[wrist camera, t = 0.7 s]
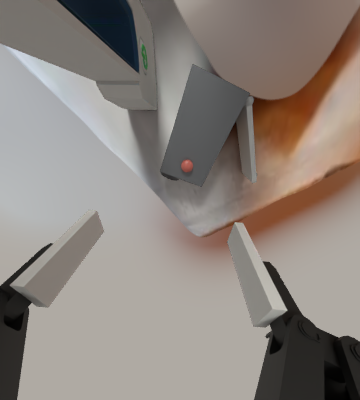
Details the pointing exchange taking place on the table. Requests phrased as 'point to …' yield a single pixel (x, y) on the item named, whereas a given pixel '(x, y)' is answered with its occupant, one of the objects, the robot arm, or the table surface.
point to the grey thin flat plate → (247, 140)
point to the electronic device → (89, 43)
